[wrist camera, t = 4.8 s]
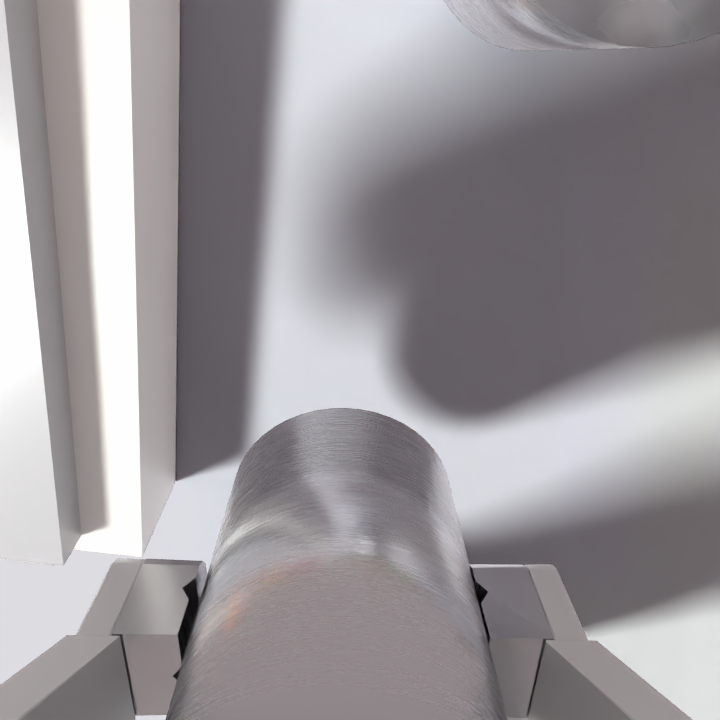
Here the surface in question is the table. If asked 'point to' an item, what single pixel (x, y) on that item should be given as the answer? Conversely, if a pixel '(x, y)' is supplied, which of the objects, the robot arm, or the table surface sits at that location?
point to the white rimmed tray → (87, 274)
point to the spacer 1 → (339, 585)
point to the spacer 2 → (588, 22)
